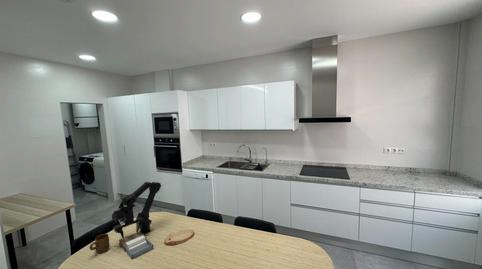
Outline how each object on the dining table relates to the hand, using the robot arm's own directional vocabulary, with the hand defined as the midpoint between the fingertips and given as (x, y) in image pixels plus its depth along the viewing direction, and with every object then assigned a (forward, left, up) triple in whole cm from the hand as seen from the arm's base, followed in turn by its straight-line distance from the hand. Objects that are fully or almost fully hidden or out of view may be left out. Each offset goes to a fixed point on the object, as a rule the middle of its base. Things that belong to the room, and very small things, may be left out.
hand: (130, 235), depth 140 cm
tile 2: (0, +13, -4) cm, 13 cm away
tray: (0, +16, -4) cm, 17 cm away
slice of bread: (-25, +25, -5) cm, 36 cm away
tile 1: (0, +11, -1) cm, 11 cm away
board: (0, +4, -4) cm, 6 cm away
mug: (+18, -2, -4) cm, 19 cm away
